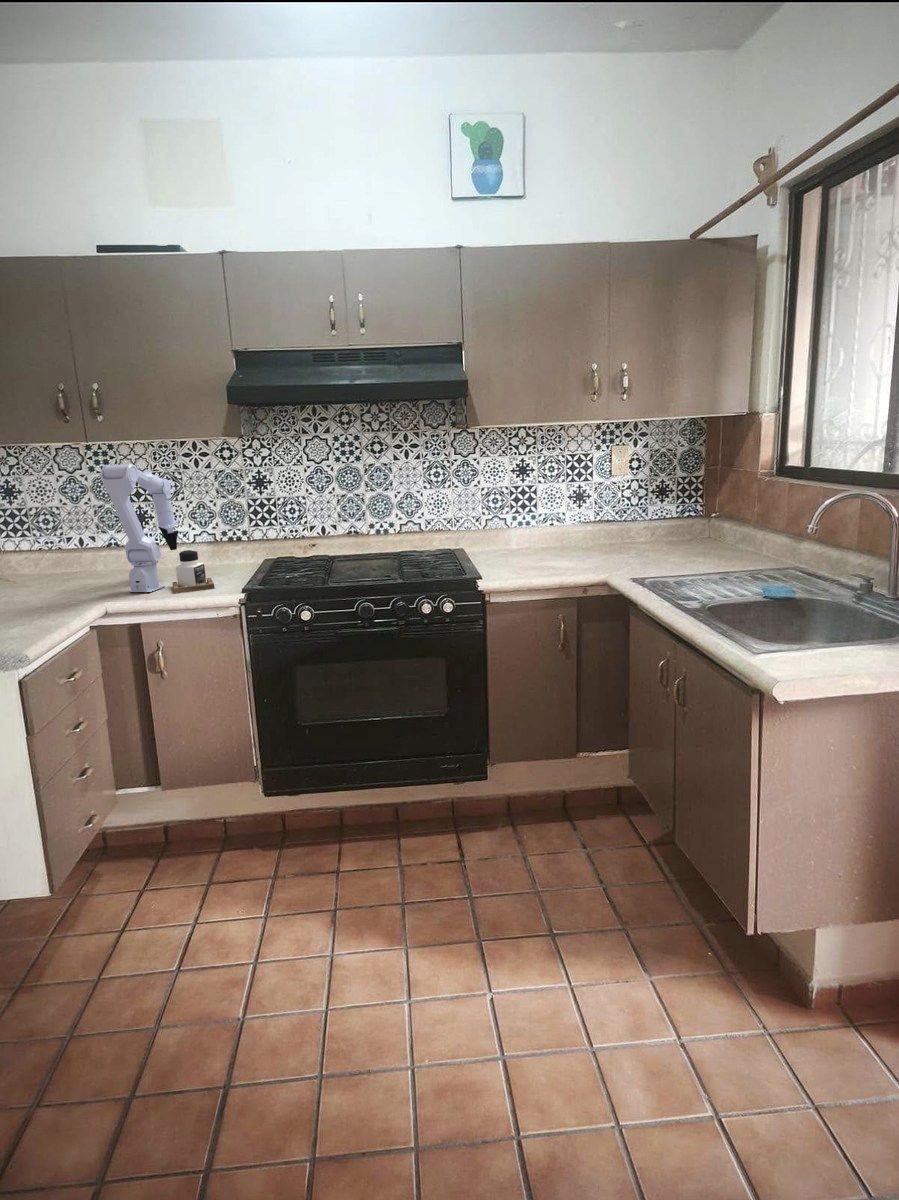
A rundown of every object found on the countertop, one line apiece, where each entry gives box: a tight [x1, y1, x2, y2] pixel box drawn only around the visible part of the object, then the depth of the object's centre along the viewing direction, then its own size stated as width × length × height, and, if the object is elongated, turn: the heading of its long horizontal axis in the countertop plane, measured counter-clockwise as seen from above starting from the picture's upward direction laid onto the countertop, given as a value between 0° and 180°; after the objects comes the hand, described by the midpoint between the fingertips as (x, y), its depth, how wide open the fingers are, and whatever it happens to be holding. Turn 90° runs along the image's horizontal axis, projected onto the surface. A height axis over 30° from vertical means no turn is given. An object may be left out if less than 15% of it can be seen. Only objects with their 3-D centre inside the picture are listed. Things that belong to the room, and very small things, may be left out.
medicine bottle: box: [175, 549, 207, 587], centre depth 269 cm, size 7×7×12 cm
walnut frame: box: [171, 577, 215, 594], centre depth 265 cm, size 12×13×2 cm
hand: (172, 547), depth 282 cm, fingers open, 7 cm apart
